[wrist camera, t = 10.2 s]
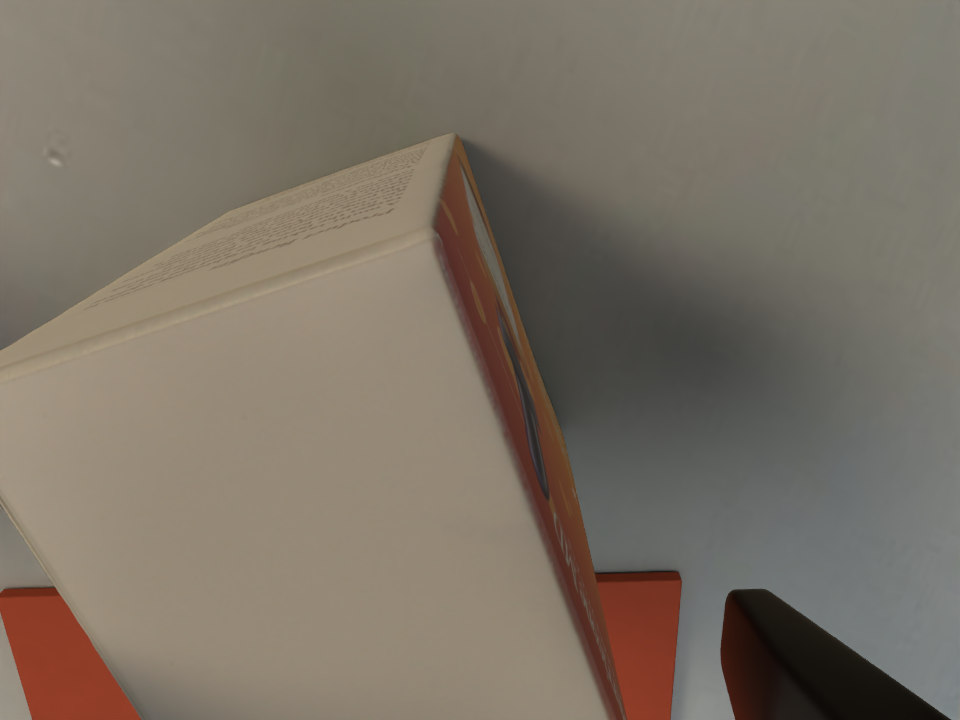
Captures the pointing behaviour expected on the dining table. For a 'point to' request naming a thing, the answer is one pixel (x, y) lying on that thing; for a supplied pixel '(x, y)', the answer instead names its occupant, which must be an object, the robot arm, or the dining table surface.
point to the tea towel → (110, 716)
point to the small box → (313, 467)
